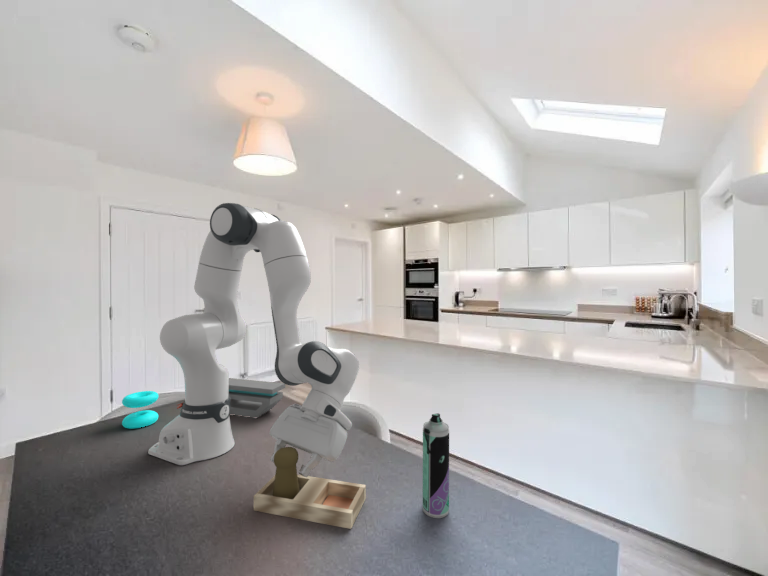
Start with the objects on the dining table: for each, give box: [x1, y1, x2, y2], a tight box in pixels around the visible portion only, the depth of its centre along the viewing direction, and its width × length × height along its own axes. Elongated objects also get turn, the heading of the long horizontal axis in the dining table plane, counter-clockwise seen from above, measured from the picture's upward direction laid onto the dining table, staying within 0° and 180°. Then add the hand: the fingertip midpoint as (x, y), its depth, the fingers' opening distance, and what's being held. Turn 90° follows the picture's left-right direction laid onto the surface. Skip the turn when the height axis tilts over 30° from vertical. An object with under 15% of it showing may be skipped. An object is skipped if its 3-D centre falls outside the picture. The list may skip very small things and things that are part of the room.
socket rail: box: [253, 473, 367, 530], centre depth 71 cm, size 22×10×3 cm, turn 76°
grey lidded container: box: [229, 377, 286, 418], centre depth 123 cm, size 25×8×11 cm, turn 74°
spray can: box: [422, 412, 450, 519], centre depth 70 cm, size 6×6×20 cm
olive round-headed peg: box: [272, 446, 300, 499], centre depth 73 cm, size 6×6×11 cm
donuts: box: [121, 390, 160, 430], centre depth 113 cm, size 10×10×10 cm
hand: (287, 468), depth 73 cm, fingers open, 8 cm apart
